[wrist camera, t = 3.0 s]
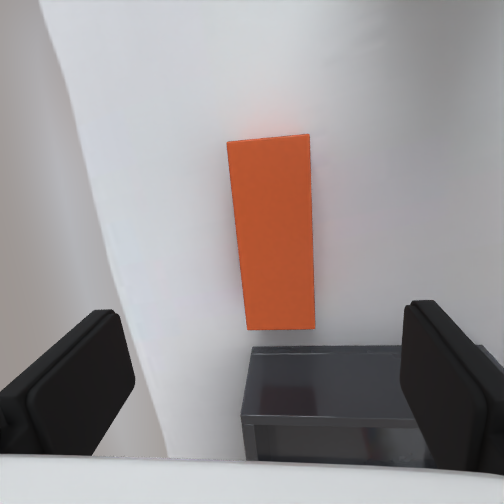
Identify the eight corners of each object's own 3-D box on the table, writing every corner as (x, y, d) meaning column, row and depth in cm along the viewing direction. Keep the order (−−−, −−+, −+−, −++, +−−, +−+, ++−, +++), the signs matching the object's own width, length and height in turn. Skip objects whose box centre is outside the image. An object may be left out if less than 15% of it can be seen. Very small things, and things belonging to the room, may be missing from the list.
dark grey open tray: (252, 346, 26) (240, 415, 20) (482, 344, 24) (554, 421, 18) (269, 505, 33) (264, 597, 26) (452, 516, 31) (496, 619, 24)
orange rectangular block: (237, 140, 21) (226, 141, 17) (306, 134, 20) (309, 133, 17) (253, 301, 25) (247, 330, 21) (311, 300, 24) (315, 329, 21)
